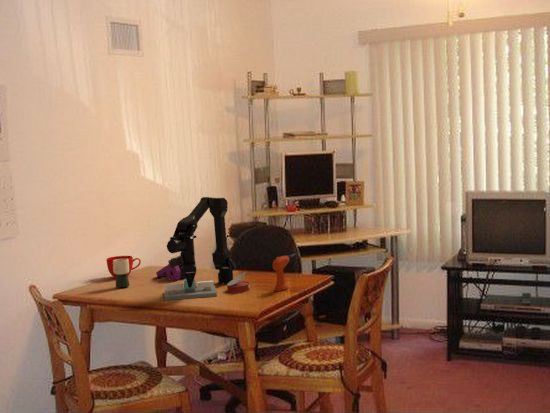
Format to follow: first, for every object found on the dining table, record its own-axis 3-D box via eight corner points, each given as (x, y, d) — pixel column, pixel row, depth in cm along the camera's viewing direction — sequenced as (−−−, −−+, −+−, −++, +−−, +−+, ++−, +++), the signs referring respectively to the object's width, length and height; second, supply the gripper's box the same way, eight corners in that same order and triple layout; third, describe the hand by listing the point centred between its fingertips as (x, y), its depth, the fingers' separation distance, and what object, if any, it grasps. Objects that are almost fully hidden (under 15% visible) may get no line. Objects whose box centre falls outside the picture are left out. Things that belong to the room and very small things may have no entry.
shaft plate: (214, 288, 321) (214, 277, 321) (216, 296, 305) (216, 284, 305) (165, 292, 318) (164, 281, 318) (164, 300, 303) (163, 288, 302)
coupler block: (195, 289, 314) (195, 278, 314) (196, 291, 310) (195, 279, 310) (184, 290, 313) (183, 279, 313) (184, 292, 309) (183, 280, 309)
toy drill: (302, 279, 324) (299, 247, 321) (282, 293, 308) (278, 260, 305) (293, 279, 326) (289, 247, 323) (272, 292, 311) (268, 259, 308)
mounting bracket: (158, 290, 354) (178, 277, 343) (152, 274, 356) (172, 261, 345) (173, 287, 361) (193, 274, 350) (167, 271, 363) (187, 258, 352)
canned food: (243, 302, 311) (237, 285, 306) (225, 298, 317) (219, 281, 312) (257, 286, 319) (251, 268, 314) (238, 282, 324) (233, 265, 319)
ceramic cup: (144, 276, 360) (142, 257, 360) (110, 281, 354) (108, 260, 353) (138, 273, 372) (137, 254, 371) (105, 277, 366) (104, 257, 365)
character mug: (124, 284, 342) (122, 257, 341) (136, 285, 339) (134, 258, 338) (108, 289, 332) (106, 261, 331) (121, 290, 329) (119, 262, 328)
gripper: (168, 248, 318) (171, 282, 320) (168, 254, 300) (170, 291, 301) (194, 246, 320) (196, 281, 321) (195, 252, 301) (197, 289, 303)
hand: (189, 285), depth 312 cm, fingers open, 9 cm apart
